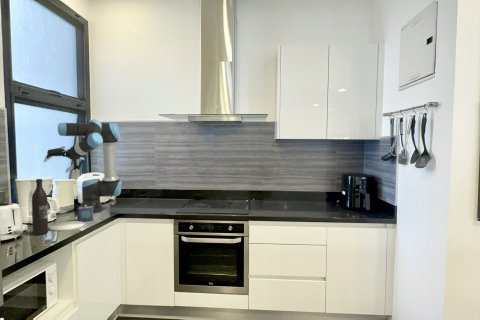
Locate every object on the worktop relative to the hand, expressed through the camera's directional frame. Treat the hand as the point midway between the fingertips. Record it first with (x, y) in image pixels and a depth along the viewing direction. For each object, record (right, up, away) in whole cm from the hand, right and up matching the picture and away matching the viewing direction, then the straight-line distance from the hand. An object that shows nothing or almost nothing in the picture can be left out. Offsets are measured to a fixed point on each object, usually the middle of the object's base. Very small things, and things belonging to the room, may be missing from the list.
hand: (55, 165), depth 181 cm
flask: (+11, -36, +13) cm, 40 cm away
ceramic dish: (+7, -36, 0) cm, 37 cm away
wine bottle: (0, -37, -14) cm, 40 cm away
